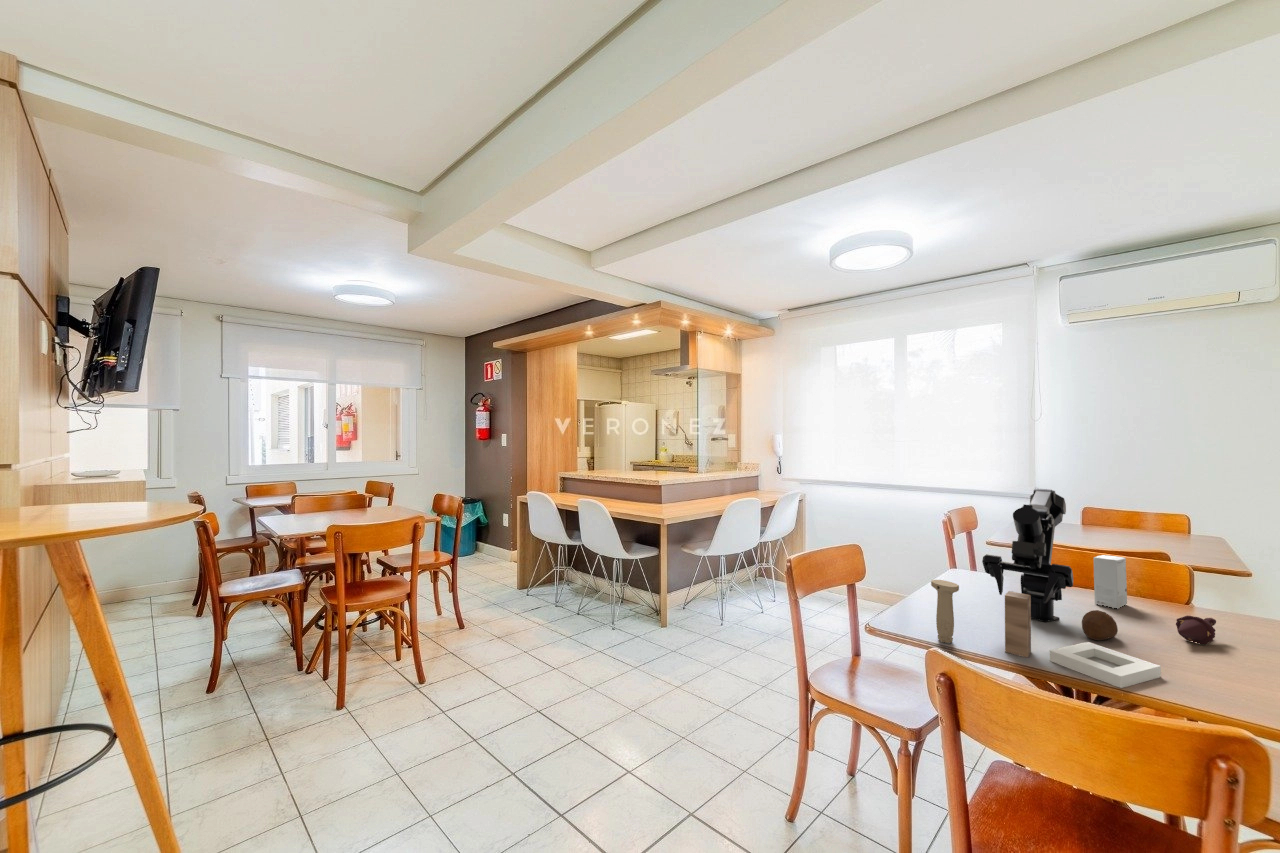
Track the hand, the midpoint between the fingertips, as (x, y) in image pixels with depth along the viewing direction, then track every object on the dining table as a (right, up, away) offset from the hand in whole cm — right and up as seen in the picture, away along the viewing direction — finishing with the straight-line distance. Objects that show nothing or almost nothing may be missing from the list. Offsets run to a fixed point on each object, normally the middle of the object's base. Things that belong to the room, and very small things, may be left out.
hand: (1021, 598), depth 133 cm
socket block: (+9, -12, -13) cm, 20 cm away
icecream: (+46, -12, +2) cm, 47 cm away
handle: (-18, -12, +3) cm, 22 cm away
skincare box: (+50, -12, +31) cm, 60 cm away
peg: (-4, -12, -4) cm, 13 cm away
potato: (+24, -12, +5) cm, 27 cm away
